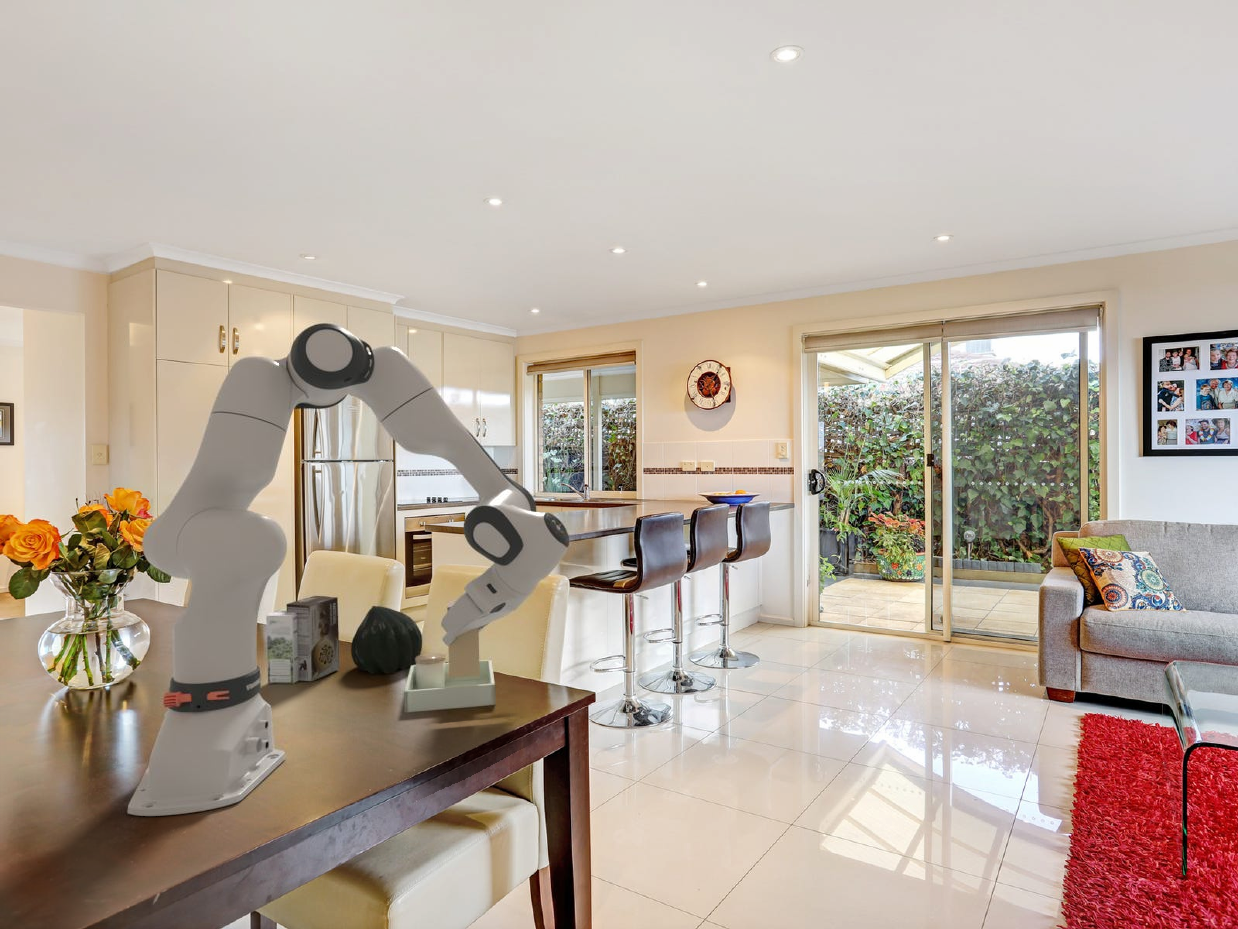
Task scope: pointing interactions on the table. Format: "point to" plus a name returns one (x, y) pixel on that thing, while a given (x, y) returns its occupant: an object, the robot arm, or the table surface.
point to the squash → (386, 641)
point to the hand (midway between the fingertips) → (460, 636)
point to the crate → (452, 691)
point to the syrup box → (282, 647)
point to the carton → (464, 653)
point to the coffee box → (316, 636)
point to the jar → (430, 671)
